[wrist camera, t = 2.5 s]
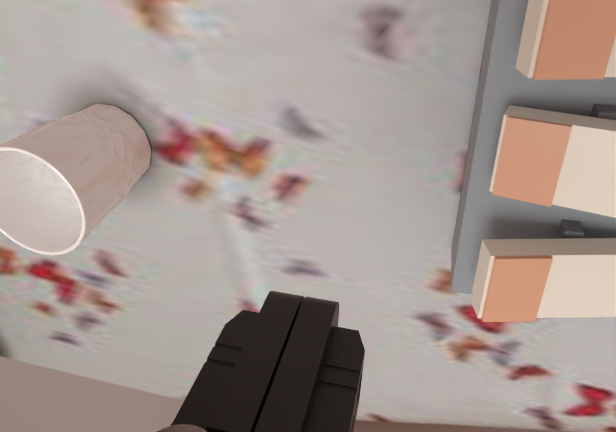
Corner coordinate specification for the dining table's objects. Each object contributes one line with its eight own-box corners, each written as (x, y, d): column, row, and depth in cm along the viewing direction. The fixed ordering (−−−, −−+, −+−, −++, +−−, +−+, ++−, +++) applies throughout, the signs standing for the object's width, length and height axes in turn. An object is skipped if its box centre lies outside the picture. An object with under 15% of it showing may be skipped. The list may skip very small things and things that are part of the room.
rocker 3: (660, 237, 30) (681, 257, 28) (636, 298, 32) (654, 320, 30) (482, 239, 30) (492, 259, 28) (470, 300, 32) (479, 321, 30)
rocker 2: (738, 138, 24) (745, 153, 23) (702, 220, 26) (706, 239, 25) (509, 104, 28) (502, 116, 27) (495, 179, 30) (488, 193, 29)
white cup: (94, 74, 39) (-4, 121, 31) (177, 145, 41) (104, 209, 33) (53, 141, 44) (-42, 199, 35) (130, 204, 45) (55, 274, 37)
